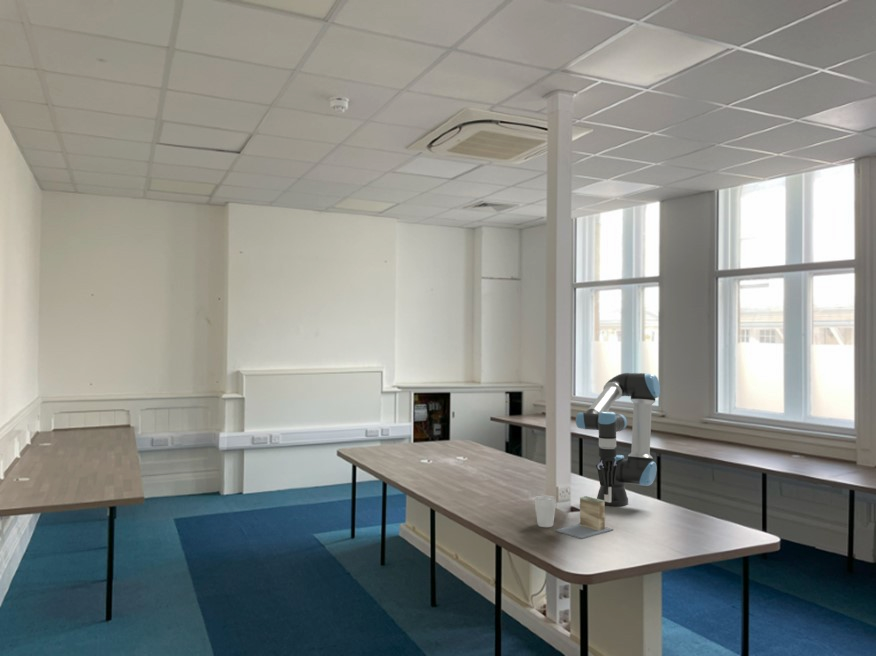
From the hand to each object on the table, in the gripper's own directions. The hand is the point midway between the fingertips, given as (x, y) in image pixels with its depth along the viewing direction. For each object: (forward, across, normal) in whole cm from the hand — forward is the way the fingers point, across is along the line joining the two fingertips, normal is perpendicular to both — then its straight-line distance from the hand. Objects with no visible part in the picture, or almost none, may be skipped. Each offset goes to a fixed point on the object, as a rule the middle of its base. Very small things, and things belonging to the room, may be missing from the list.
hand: (607, 501), depth 289 cm
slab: (+9, +10, 0) cm, 14 cm away
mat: (+10, +15, 0) cm, 18 cm away
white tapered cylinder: (+10, +22, -16) cm, 29 cm away
